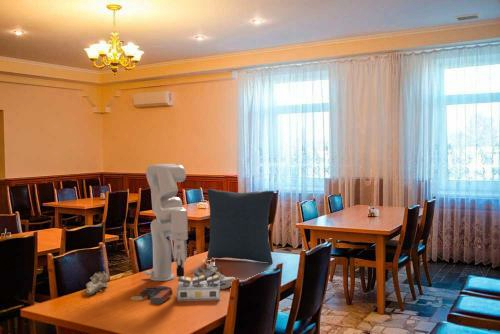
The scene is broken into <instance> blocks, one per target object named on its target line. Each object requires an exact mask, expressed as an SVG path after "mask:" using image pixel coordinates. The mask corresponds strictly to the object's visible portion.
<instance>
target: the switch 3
mask: <svg viewBox="0 0 500 334" xmlns="http://www.w3.org/2000/svg"><path fill="white" fill-rule="evenodd" d="M218 280H219V275H215V276H213V277H212V276H211V277H208V278H207V284H208V283H211V282H215V281H218Z"/></svg>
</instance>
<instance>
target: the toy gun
mask: <svg viewBox="0 0 500 334" xmlns="http://www.w3.org/2000/svg"><path fill="white" fill-rule="evenodd" d="M138 295H139V296H137V295H136V296H134V295H133V296H131V298H130V300H131V301H132V300H133V301H142V300H146V297H145V296H147V300H149V301H150V304H163V303H164V302H166V301H167V300H168V299H169V297H170V296H172V295H173V289H172V287H170V286H165V285H163V286H162V285H161V286H159V285H158V286H157V287H156V286H155V287H145V288H143V290H142V291H141V292H140V293H139V294H138Z"/></svg>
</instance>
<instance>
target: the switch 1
mask: <svg viewBox="0 0 500 334" xmlns="http://www.w3.org/2000/svg"><path fill="white" fill-rule="evenodd" d="M191 281H192V278H191V277H188V276H185V275H184V276H183V277H178V278H177V282H178V283H179V282H183V283H188V284H190V282H191Z"/></svg>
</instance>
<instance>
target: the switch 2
mask: <svg viewBox="0 0 500 334" xmlns="http://www.w3.org/2000/svg"><path fill="white" fill-rule="evenodd" d="M191 281H192V282H193V284H195V283H198V282H202V281H205V275H202V276H199V277H195V278H193V277H192V279H191Z"/></svg>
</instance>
